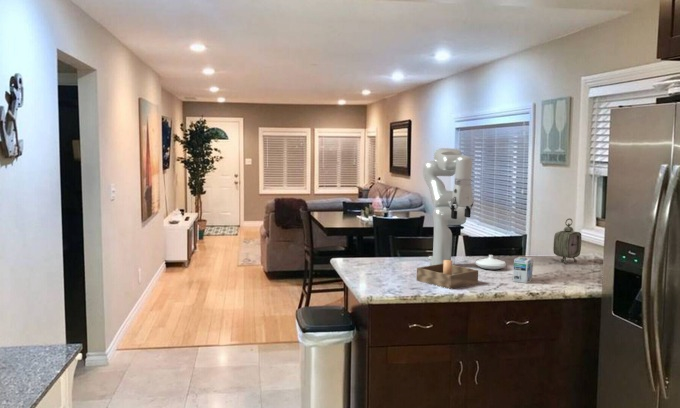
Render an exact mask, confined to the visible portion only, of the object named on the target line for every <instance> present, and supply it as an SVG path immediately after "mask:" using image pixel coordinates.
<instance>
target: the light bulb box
mask: <svg viewBox="0 0 680 408" xmlns="http://www.w3.org/2000/svg"><path fill="white" fill-rule="evenodd" d="M533 269H534V258H533V257H530V256H529V257H527V256H522V255H521V256H517V257H516V258H514V259H513V272H512V273H513V276H512V282H514V283H516V282H517V283H524V284H528V283H529V282H531V281H532V280H533Z"/></svg>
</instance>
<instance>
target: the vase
mask: <svg viewBox="0 0 680 408" xmlns="http://www.w3.org/2000/svg"><path fill="white" fill-rule="evenodd" d="M475 265H476V266H478V267H479V268H482V269H486V270H491V271H492V270H495V271H496V270H501V269H503V268H505V267H507V263H506V261H505V260H500V259H498V258H494V255H493V254H488V257H487V258H486V257H485V258H479V259H476V260H475Z"/></svg>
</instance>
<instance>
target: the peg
mask: <svg viewBox="0 0 680 408" xmlns="http://www.w3.org/2000/svg"><path fill="white" fill-rule="evenodd" d="M452 264H453V260H452V259H451V260H444V263H443V274H448V275H452Z"/></svg>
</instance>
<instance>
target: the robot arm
mask: <svg viewBox="0 0 680 408" xmlns="http://www.w3.org/2000/svg"><path fill="white" fill-rule="evenodd" d="M472 168H473V158H472V157H470V156H467V155H465V154H464V155H463V154H462V151H461V150H460V149H458V148H449V147H447V148H445V147H444V148H443V147H442V148H438V149H436V150H435V151H434V153H433V160H428V161H426V162H425V163H424V164H423V166H422V173H423V179H424V181H425V183H426V185H427V187H428V190H429V194H430V199H431V202H432V205H433V206H434V209H433V211H432V222H433V244H432V248H433V249H432V255H430V256H428V257H427V260H428V261H430V262H429V266H431V265H437V264H442V263H444V260H452V245H453V244H452V243H453V233H452V230H451V228H449V226H460V225H464V224H465V223H466V222H467V218H469V219H470V218H471V211H472V209H473V208H472V207H474V206H473V205H474V204H475V203H474V202H475V199H474V198H473V187H472V172H473V171H472V170H473V169H472ZM453 176H454V186H453V190H447V189H446V185H445V184H444V182H443V181H442V180H441V179H440V178H439V177H453ZM452 265H454V263H452Z"/></svg>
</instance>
